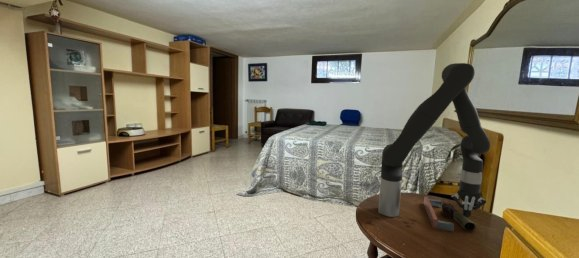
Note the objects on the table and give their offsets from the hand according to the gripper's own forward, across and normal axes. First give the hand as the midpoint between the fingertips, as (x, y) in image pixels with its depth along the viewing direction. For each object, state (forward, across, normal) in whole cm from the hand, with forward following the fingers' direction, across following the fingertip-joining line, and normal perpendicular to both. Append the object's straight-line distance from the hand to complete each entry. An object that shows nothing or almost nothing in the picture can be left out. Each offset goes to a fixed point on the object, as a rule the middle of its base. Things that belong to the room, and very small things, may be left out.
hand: (466, 216), depth 107 cm
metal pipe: (+2, -5, -1) cm, 5 cm away
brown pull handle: (+2, -11, 0) cm, 11 cm away
